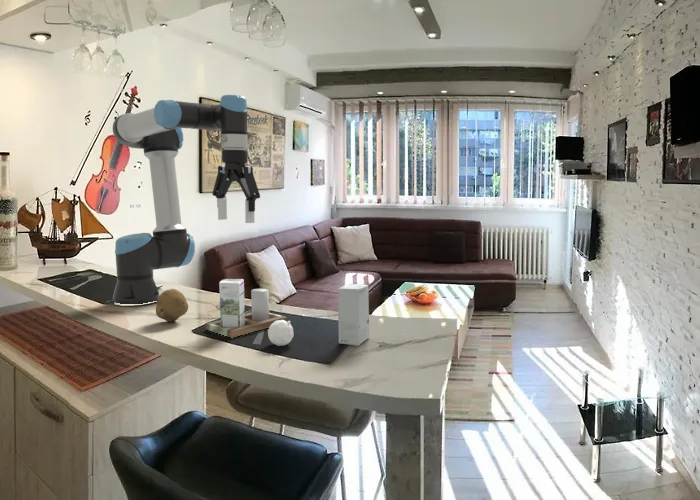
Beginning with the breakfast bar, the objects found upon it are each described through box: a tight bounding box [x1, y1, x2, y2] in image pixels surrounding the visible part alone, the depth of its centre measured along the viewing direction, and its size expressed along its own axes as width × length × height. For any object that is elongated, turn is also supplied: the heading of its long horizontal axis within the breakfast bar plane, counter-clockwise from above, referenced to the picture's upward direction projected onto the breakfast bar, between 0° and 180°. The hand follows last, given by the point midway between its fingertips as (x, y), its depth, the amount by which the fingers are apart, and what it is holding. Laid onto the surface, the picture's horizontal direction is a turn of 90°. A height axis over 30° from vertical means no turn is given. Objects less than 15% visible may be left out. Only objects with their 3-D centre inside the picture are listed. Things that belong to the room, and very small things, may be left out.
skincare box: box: [337, 283, 370, 347], centre depth 145 cm, size 8×6×15 cm
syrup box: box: [218, 278, 246, 329], centre depth 154 cm, size 6×6×14 cm
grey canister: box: [250, 288, 270, 322], centre depth 162 cm, size 5×5×10 cm
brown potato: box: [155, 288, 189, 323], centre depth 164 cm, size 9×9×10 cm
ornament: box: [267, 320, 295, 347], centre depth 142 cm, size 6×7×7 cm
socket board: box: [205, 312, 288, 339], centre depth 159 cm, size 12×20×2 cm, turn 139°
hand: (235, 221), depth 165 cm, fingers open, 13 cm apart
